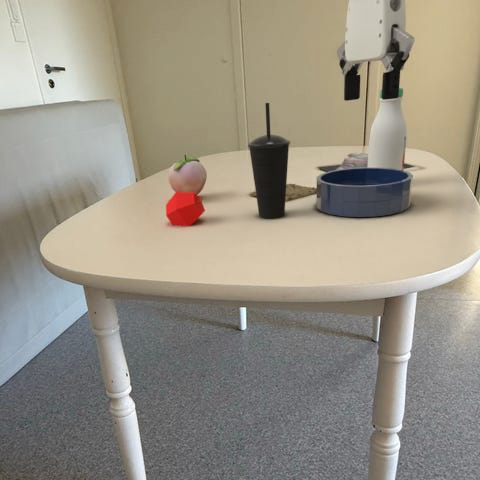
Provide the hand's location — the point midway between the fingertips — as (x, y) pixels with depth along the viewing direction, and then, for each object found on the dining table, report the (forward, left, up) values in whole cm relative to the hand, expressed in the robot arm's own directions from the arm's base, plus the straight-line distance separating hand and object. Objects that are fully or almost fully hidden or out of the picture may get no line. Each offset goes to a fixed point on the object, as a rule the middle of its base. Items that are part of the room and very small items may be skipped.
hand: (370, 99), depth 78 cm
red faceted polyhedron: (+32, -13, -19) cm, 40 cm away
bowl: (0, 0, -19) cm, 19 cm away
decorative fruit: (+24, -32, -19) cm, 45 cm away
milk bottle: (-15, -10, -19) cm, 26 cm away
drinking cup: (+17, -6, -19) cm, 27 cm away
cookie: (+5, -20, -19) cm, 28 cm away
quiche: (-27, -29, -19) cm, 44 cm away
